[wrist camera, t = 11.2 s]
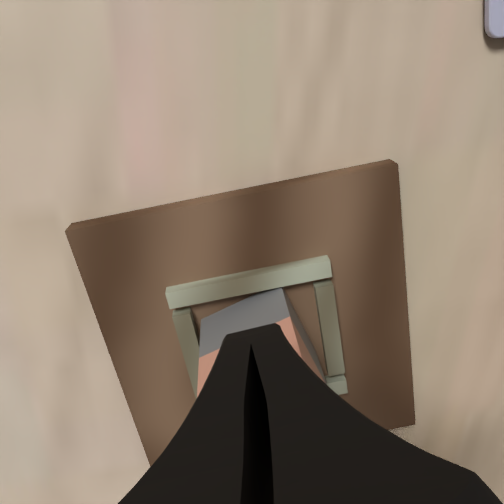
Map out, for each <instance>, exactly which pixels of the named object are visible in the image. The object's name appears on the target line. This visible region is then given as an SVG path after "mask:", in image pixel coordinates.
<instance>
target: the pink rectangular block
mask: <svg viewBox="0 0 504 504" xmlns="http://www.w3.org/2000/svg"><path fill="white" fill-rule="evenodd" d="M272 323H276V324H278V325H280V326H281V329H282V331H283V333H284V335H285V337H286V338H287V340H288V341H289V343H290V344H291V346H292V347H293V348H294V350H295V351H296V352H297V353H298V355H299V356H300V357H301V358H302V359H303V360H304V362H305V363H306V364H307V365H308V366H309V367H310V368H311V370H312V371H313V372H314V373H315V374H316V375H317V376H318V377H319V378H320V379H321V380H322V381H323V382H324V383H326V380H325V377H324V374H323V371H322V368H321V365H320V362H319V359H318V356H317V353H316V351H315V348H314V346H313V344H312V342H311V340H310V338H309V337H308V335H307V333H306V331H305V329H304V327H303V325H302V323H301V321H300V319H299V317H298V315H297V314H296V312H295V310H294V308H293V306H292V304H291V302H290V300H289V298H288V296H287V294H286V292H285V291H284V289H283V287H279V288H274V289H269V290H264V291H261V292H258V293H256V294H254V295H252V296H250V297H248V298H246V299H244V300H241V301H239V302H237V303H235V304H233V305H231V306H229V307H226V308H224V309H222V310H220V311H218V312H216V313H214V314H211V315H209V316H207V317H205V318H203V319H201V327H200V347H199V366H198V386H197V397H198V395H199V393H200V391H201V390H202V388H203V385H204V383H205V381H206V379H207V377H208V375H209V373H210V371H211V369H212V366H213V364H214V362H215V359H216V357H217V355H218V352H219V350H220V347H221V344H222V341H223V339H224V337H225V336H226V335H227V334H230V333H234V332H239V331H243V330H247V329H251V328H255V327H259V326H264V325H268V324H272ZM326 384H327V383H326Z"/></svg>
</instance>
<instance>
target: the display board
mask: <svg viewBox="0 0 504 504" xmlns="http://www.w3.org/2000/svg"><path fill="white" fill-rule="evenodd" d="M65 233H66V236H67V238H68V241H69V244H70V247H71V249H72V252H73V255H74V258H75V260H76V263H77V266H78V269H79V271H80V274H81V277H82V280H83V282H84V285H85V288H86V291H87V293H88V296H89V299H90V302H91V304H92V307H93V310H94V313H95V315H96V318H97V321H98V324H99V326H100V329H101V332H102V334H103V337H104V340H105V343H106V345H107V348H108V351H109V354H110V356H111V359H112V362H113V365H114V367H115V370H116V373H117V376H118V378H119V381H120V384H121V387H122V389H123V392H124V395H125V398H126V400H127V403H128V406H129V409H130V411H131V414H132V417H133V420H134V422H135V425H136V428H137V431H138V433H139V436H140V439H141V442H142V444H143V447H144V450H145V453H146V455H147V458H148V461H149V464H150V466H152V465H153V463H154V462H155V461H156V460H157V459H158V457H159V456H160V455H161V454H162V452H163V451H164V450H165V448H166V447H167V445H168V444H169V443H170V441H171V440H172V438H173V437H174V435H175V434H176V432H177V431H178V429H179V428H180V426H181V425H182V423H183V421H184V420H185V418H186V417H187V415H188V413H189V411H190V409H191V408H192V406H193V404H194V402H195V401H196V399H197V386H198V366H199V347H200V327H201V319H203V318H205V317H207V316H209V315H211V314H214V313H216V312H218V311H220V310H222V309H224V308H226V307H229V306H231V305H233V304H235V303H237V302H239V301H241V300H244V299H246V298H248V297H250V296H252V295H254V294H256V293H258V292H261V291H264V290H269V289H274V288H279V287H283V289H284V291H285V292H286V294H287V296H288V298H289V300H290V302H291V304H292V306H293V308H294V310H295V312H296V314H297V315H298V317H299V319H300V321H301V323H302V325H303V327H304V329H305V331H306V333H307V335H308V337H309V338H310V340H311V342H312V344H313V346H314V348H315V351H316V353H317V356H318V359H319V362H320V365H321V368H322V371H323V374H324V377H325V380H326V383H327V385H328V386H329V387H330V388H331V389H332V390H333V391H334V392H335V393H336V394H338V395H339V396H340V397H341V398H342V399H344V400H345V401H346V402H347V403H349V404H350V405H351V406H352V407H354V408H355V409H356V410H358V411H359V412H361V413H362V414H363V415H365V416H366V417H368V418H369V419H370V420H372V421H373V422H375V423H377V424H378V425H380V426H382V427H383V428H385V429H386V430H388V429H393V428H398V427H403V426H408V425H413V424H415V411H414V396H413V381H412V366H411V351H410V336H409V321H408V306H407V291H406V276H405V261H404V247H403V232H402V217H401V202H400V187H399V172H398V164H397V163H395V162H394V161H392V160H390V159H388V160H383V161H378V162H373V163H368V164H363V165H359V166H354V167H349V168H344V169H339V170H334V171H329V172H324V173H319V174H314V175H309V176H304V177H299V178H294V179H289V180H284V181H279V182H274V183H269V184H264V185H259V186H254V187H249V188H244V189H239V190H235V191H230V192H225V193H220V194H215V195H210V196H205V197H200V198H195V199H190V200H185V201H180V202H175V203H170V204H165V205H160V206H155V207H150V208H145V209H140V210H135V211H130V212H125V213H120V214H116V215H111V216H106V217H101V218H96V219H91V220H86V221H81V222H76V223H71V225H70V226H69V227H68V228H67V229H66V231H65Z"/></svg>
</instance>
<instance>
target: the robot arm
mask: <svg viewBox="0 0 504 504" xmlns="http://www.w3.org/2000/svg"><path fill="white" fill-rule="evenodd" d="M485 32H486V33H487V35H488V36H489V37H491V38H504V0H485ZM118 504H503V503H502V502H501V501H500V500H499V499H498V497H497V496H496V495H495V494H494V493H493V492H492V490H491V489H490V488H489V487H488V486H487V485H486V484H485V483H484V482H483V481H482V479H481V478H480V477H479V476H478V475H477V474H476V473H474V472H473V471H470V470H468V469H466V468H463V467H461V466H459V465H456V464H454V463H451V462H449V461H447V460H444V459H442V458H440V457H437V456H435V455H432V454H430V453H428V452H426V451H424V450H422V449H420V448H418V447H416V446H414V445H412V444H410V443H408V442H406V441H405V440H403V439H401V438H400V437H398V436H396V435H395V434H393V433H391V432H390V431H388V430H386V429H385V428H383V427H382V426H380V425H378V424H377V423H375V422H373V421H372V420H370V419H369V418H368V417H366V416H365V415H363V414H362V413H361V412H359V411H358V410H356V409H355V408H354V407H352V406H351V405H350V404H349V403H347V402H346V401H345V400H344V399H342V398H341V397H340V396H339V395H338V394H336V393H335V392H334V391H333V390H332V389H331V388H330V387H329V386H328V385H327V384H326V383H324V382H323V381H322V380H321V379H320V378H319V377H318V376H317V375H316V374H315V373H314V372H313V371H312V370H311V368H310V367H309V366H308V365H307V364H306V363H305V362H304V360H303V359H302V358H301V357H300V356H299V355H298V353H297V352H296V351H295V350H294V348H293V347H292V346H291V344H290V343H289V341H288V340H287V338H286V337H285V335H284V333H283V331H282V329H281V326H280V325H278V324H276V323H272V324H268V325H264V326H259V327H255V328H251V329H247V330H243V331H239V332H234V333H230V334H227V335H226V336H225V337H224V339H223V341H222V344H221V347H220V350H219V352H218V355H217V357H216V359H215V362H214V364H213V366H212V369H211V371H210V373H209V375H208V377H207V379H206V381H205V383H204V385H203V388H202V390H201V391H200V393H199V395H198V397H197V399H196V401H195V402H194V404H193V406H192V408H191V409H190V411H189V413H188V415H187V417H186V418H185V420H184V421H183V423H182V425H181V426H180V428H179V429H178V431H177V432H176V434H175V435H174V437H173V438H172V440H171V441H170V443H169V444H168V445H167V447H166V448H165V450H164V451H163V452H162V454H161V455H160V456H159V457H158V459H157V460H156V461H155V462H154V463H153V465H152V466H151V467H150V468H149V469H148V471H147V472H146V473H145V474H144V475H143V477H142V478H141V479H140V480H139V481H138V483H137V484H136V485H135V486H134V487H133V488H132V489H131V490H130V491H129V492H128V493H127V495H126V496H125V497H124V498H123V499H122V500H121V501H120V502H119V503H118Z"/></svg>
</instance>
